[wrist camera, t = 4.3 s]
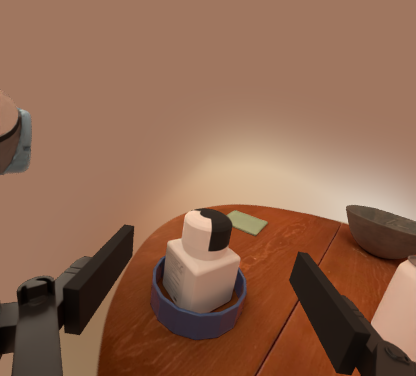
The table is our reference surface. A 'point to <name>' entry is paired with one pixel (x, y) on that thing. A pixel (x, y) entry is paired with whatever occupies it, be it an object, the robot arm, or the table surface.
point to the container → (201, 262)
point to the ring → (192, 321)
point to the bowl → (382, 232)
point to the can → (399, 309)
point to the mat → (246, 222)
